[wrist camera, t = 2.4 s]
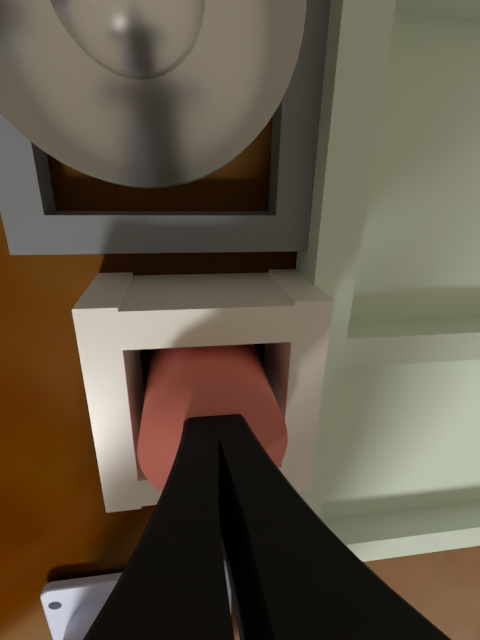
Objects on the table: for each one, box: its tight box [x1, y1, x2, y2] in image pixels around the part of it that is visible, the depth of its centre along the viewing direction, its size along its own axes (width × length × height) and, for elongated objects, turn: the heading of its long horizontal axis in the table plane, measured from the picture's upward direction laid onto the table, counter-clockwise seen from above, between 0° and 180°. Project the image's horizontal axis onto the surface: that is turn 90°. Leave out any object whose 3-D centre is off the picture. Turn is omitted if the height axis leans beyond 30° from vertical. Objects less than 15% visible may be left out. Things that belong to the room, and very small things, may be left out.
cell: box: [0, 0, 306, 188], centre depth 7 cm, size 4×4×6 cm
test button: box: [137, 344, 288, 492], centre depth 11 cm, size 4×4×4 cm
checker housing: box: [72, 269, 334, 513], centre depth 11 cm, size 6×6×3 cm
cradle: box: [0, 0, 331, 255], centre depth 9 cm, size 8×8×1 cm
